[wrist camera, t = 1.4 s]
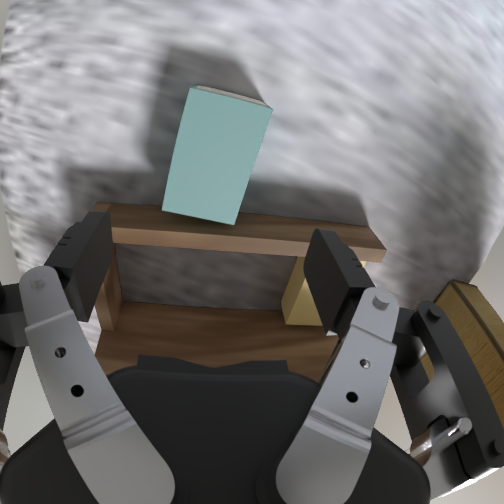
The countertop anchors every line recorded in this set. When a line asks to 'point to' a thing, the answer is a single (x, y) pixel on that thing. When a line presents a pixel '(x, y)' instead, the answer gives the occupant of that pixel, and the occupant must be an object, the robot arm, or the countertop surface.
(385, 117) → the countertop surface
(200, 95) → the book block
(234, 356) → the book rack
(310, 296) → the ochre book block
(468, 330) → the food packaging
